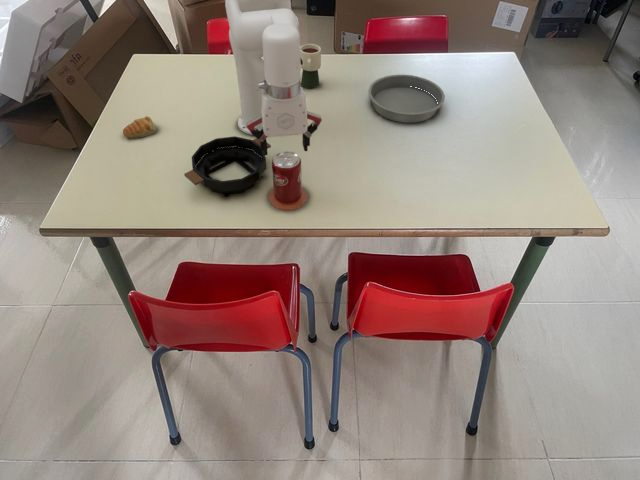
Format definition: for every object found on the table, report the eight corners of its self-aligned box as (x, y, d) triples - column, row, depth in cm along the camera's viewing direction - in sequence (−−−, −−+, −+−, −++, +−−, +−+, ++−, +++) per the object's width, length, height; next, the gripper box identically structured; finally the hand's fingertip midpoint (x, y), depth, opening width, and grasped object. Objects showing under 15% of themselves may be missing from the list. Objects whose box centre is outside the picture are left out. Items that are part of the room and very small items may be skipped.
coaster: (290, 180, 130) (290, 178, 129) (314, 198, 125) (314, 197, 124) (261, 196, 125) (261, 195, 125) (285, 216, 120) (285, 214, 120)
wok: (246, 143, 141) (244, 125, 136) (287, 174, 131) (287, 156, 127) (174, 178, 129) (169, 160, 125) (214, 215, 120) (210, 196, 115)
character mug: (301, 76, 168) (300, 40, 158) (321, 77, 168) (322, 41, 158) (298, 92, 161) (297, 55, 151) (319, 93, 160) (319, 57, 151)
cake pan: (453, 99, 159) (456, 87, 156) (423, 135, 145) (426, 122, 142) (388, 78, 168) (389, 66, 165) (353, 110, 154) (354, 97, 150)
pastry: (129, 143, 140) (125, 132, 137) (120, 132, 143) (116, 121, 140) (159, 132, 144) (156, 121, 141) (149, 122, 147) (146, 111, 145)
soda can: (281, 208, 121) (278, 172, 112) (269, 191, 126) (266, 155, 117) (306, 200, 124) (306, 163, 115) (294, 183, 128) (293, 147, 119)
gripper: (243, 99, 98) (250, 163, 111) (325, 92, 100) (323, 156, 113) (241, 79, 103) (248, 143, 115) (319, 73, 105) (317, 137, 118)
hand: (285, 149), depth 114 cm, fingers open, 9 cm apart
